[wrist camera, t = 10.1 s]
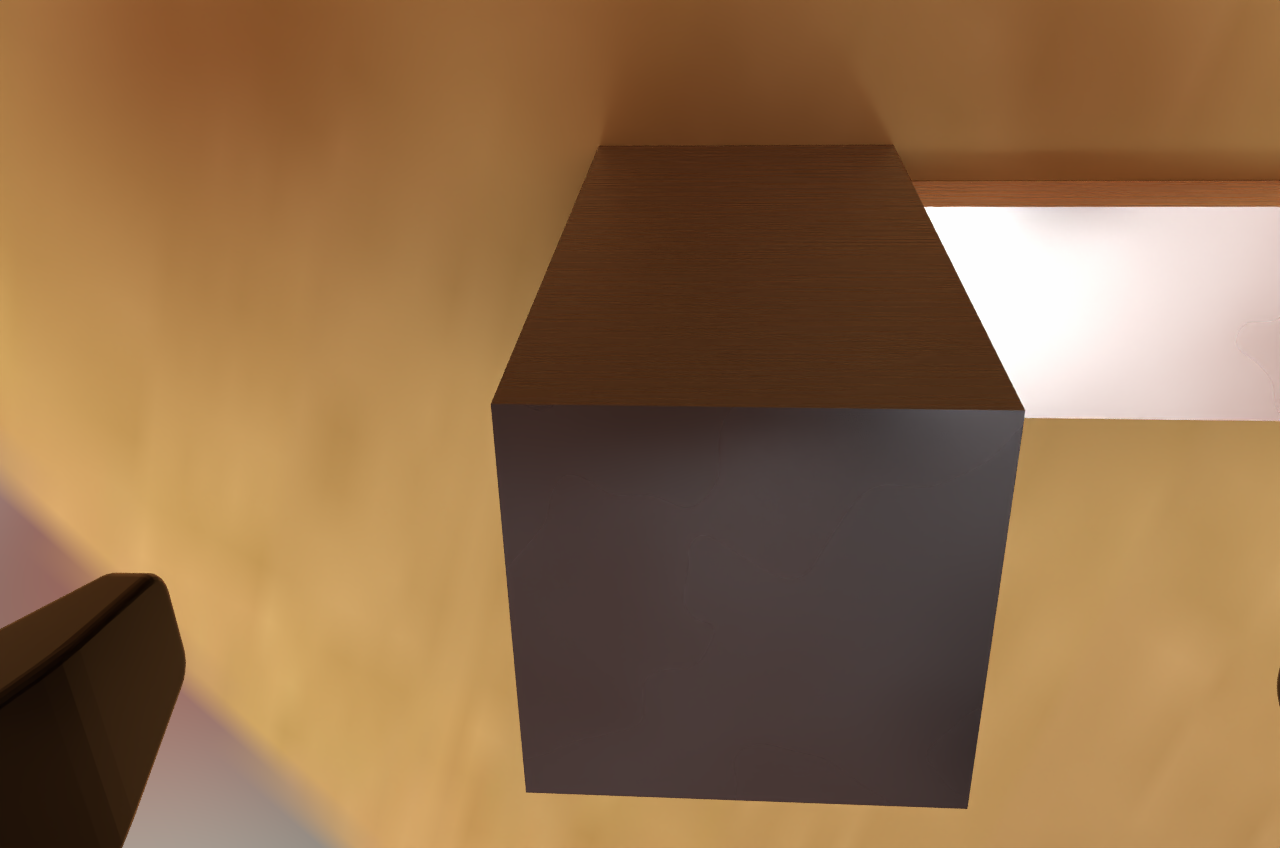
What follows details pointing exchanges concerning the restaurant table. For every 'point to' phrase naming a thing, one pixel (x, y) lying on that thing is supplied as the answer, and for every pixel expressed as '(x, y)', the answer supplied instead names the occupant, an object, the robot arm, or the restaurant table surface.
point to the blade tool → (826, 448)
